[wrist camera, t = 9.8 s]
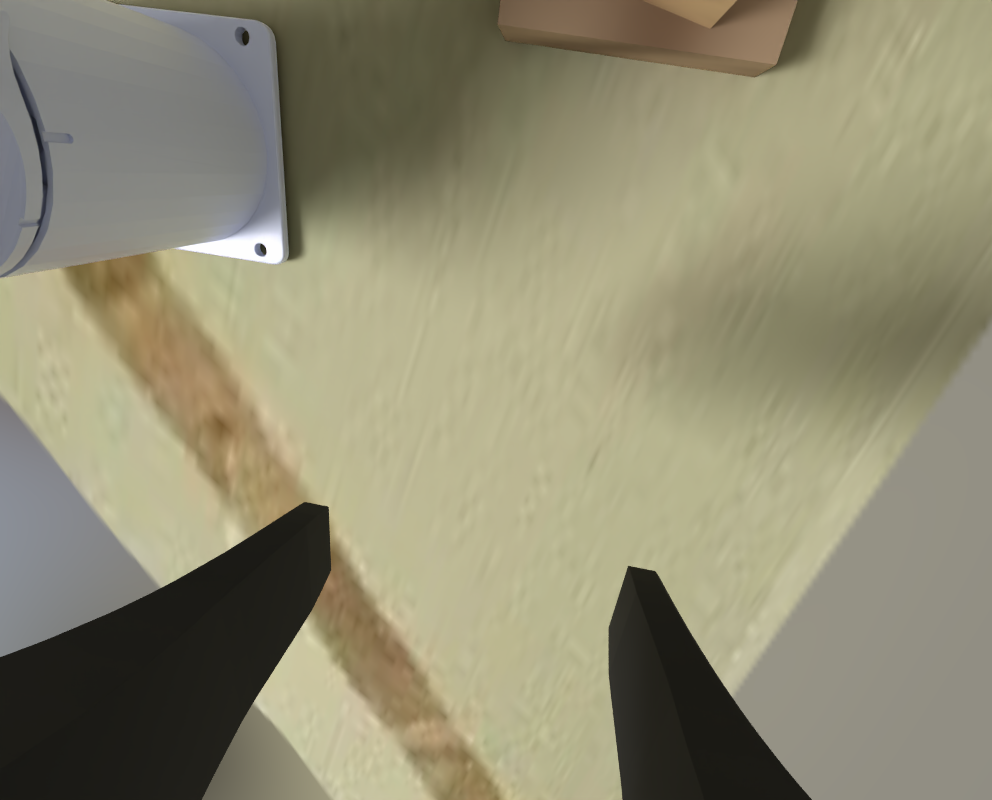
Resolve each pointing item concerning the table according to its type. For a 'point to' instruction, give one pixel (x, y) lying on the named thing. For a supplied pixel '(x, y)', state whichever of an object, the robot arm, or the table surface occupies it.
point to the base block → (654, 32)
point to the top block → (696, 9)
